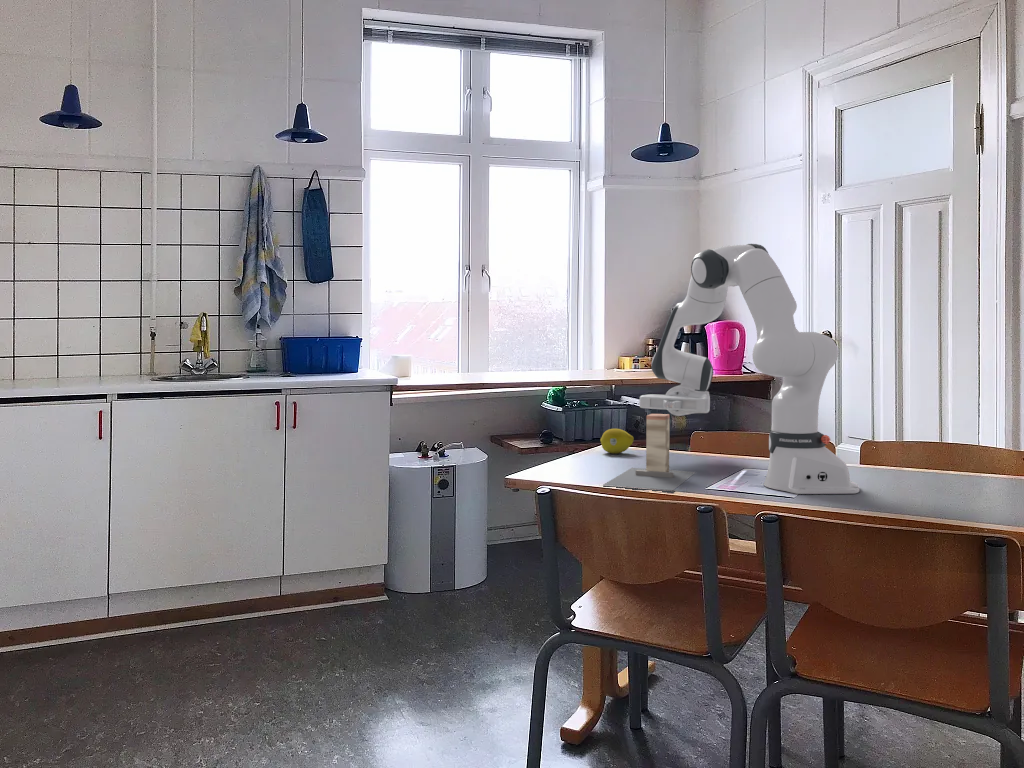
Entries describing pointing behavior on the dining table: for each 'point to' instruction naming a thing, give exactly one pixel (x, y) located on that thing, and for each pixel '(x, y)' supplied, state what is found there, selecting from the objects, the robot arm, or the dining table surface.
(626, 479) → the mat
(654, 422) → the birch block
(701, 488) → the dining table surface
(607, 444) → the lemon
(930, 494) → the dining table surface
